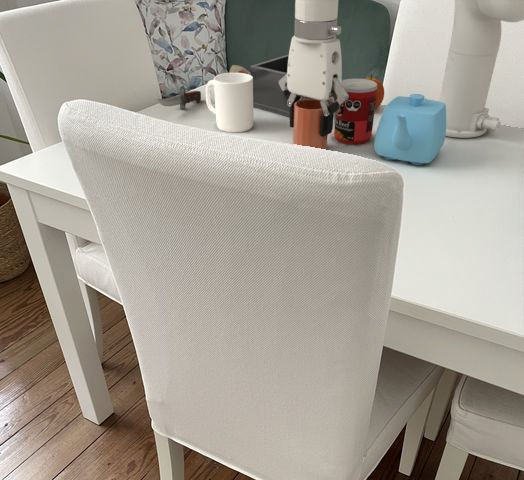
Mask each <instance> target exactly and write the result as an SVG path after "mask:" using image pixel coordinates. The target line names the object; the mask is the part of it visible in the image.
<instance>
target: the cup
mask: <svg viewBox="0 0 524 480" xmlns="http://www.w3.org/2000/svg"><path fill="white" fill-rule="evenodd" d="M212 87H213V89H214V91H213V92H214V105H215V107H214V105H213V103H212V98H211V89H212ZM205 102H206V106H207V108H208V110H209V111H210V112H211V114H213V115H215V120H216V121H215V122H216V123H215V124H216V127H217V128H218V129H219V130H220V131H222V132H225V133H245V132H247V131H249V130H251V129H252V128H253V126H254V119H255V118H254V107H253V77H252V76H251V75H249V74H245V73H229V72H224V73H220V74H217V75H215V76H214V77H213V79H211V80H209V81H207V83H206V85H205Z"/></svg>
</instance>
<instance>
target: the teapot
mask: <svg viewBox="0 0 524 480" xmlns="http://www.w3.org/2000/svg"><path fill="white" fill-rule="evenodd" d="M439 101H440V100H433V99H427V98H426V97H425V95H423V94H420V93H412V94H410V95H409V96H400V95H399V96H396V97H394V98H393V99H392V100H390V102H389V103H387V104H386V105H385V106H384V109H383V111H382V114H381V116H380V119H379V121H378V125H377V129H376V132H375V137H374V143H373V144H374V146H373V147H374V150H375V154H376V155H378V156H381V157H384V159H385V160H387V161H393V160H399V161H404V162H410V164H412V165H414V166H421V165H423V164H429V163H431V162H432V161H434V159H436V157H437V156H438V154H439V153H440V151H441V150H442V147H443V146H444V143H445V140H446V137H447V136H446V123H447V122H446V105H445V103H443V102H439Z"/></svg>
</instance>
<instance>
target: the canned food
mask: <svg viewBox="0 0 524 480" xmlns="http://www.w3.org/2000/svg"><path fill="white" fill-rule="evenodd" d="M341 85H342V86H343V88H344V89H345V91H346V92H347V94H348V95H349V98H348V99H347V101H346V102H345V103H344V104H343V105H342V106H341V107H340V108H339V109H338V110H337V112H336V113H334V126H333V135H334V139H335V141H336V142H338V143H340V144H344V145H355V146H356V145H364V144H366V143H368V142H370V140H371V138H372V135H373V127H374V119H375V111H376V109H375V104H376V96H377V83H376V82H374V81H371V80H367V79H365V78H345V79H342V82H341ZM337 98H338V97H337ZM336 100H337V99H336Z"/></svg>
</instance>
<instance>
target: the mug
mask: <svg viewBox="0 0 524 480" xmlns="http://www.w3.org/2000/svg"><path fill="white" fill-rule="evenodd" d="M228 73H245V74H249V75H250V70H248V69H246V68H245V67H243V66H241V65H239V64H238V65H237V64H232V65H231V66H230V69H229V72H228Z"/></svg>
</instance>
